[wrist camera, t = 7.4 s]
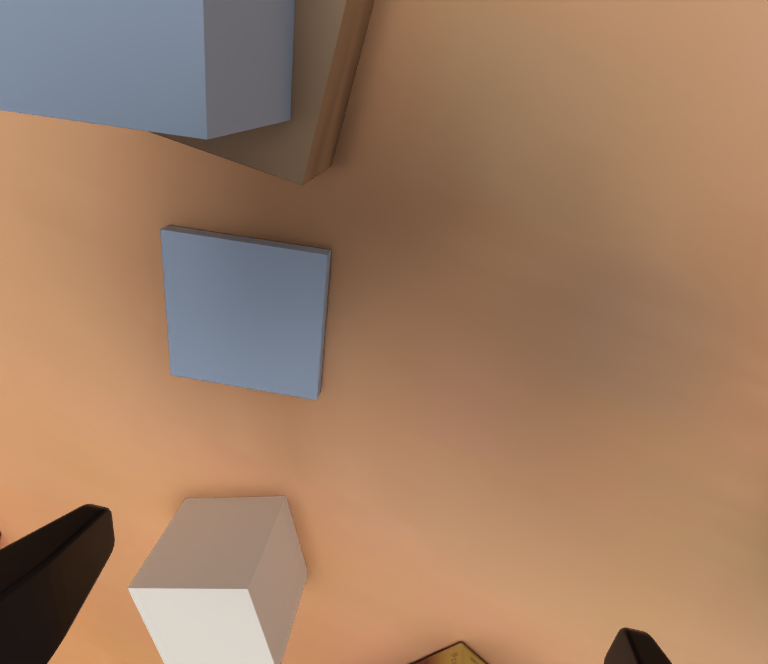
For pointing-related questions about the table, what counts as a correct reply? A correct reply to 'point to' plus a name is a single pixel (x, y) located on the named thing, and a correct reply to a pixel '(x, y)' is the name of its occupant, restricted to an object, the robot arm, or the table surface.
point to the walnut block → (304, 95)
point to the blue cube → (150, 63)
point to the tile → (245, 310)
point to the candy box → (454, 656)
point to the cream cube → (223, 582)
